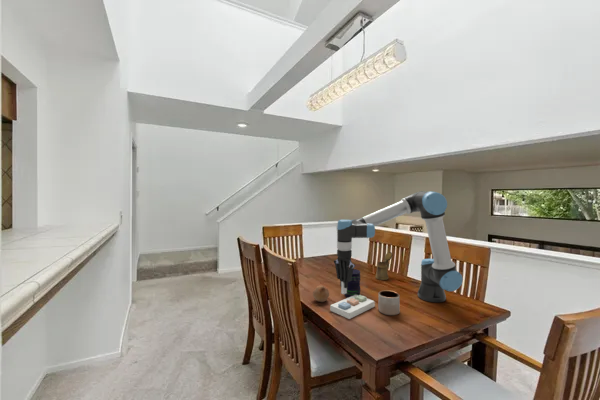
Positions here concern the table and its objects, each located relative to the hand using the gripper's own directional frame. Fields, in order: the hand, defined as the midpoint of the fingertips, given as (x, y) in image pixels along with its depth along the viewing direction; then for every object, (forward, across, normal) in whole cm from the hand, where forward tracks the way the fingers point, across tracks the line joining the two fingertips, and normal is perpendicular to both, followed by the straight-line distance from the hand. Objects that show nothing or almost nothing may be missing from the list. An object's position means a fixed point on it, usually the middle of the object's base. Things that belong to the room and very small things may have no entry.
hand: (343, 293), depth 149 cm
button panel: (+10, 0, -7) cm, 13 cm away
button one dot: (+9, 0, 0) cm, 9 cm away
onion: (+11, +19, -2) cm, 22 cm away
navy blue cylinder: (+11, +12, -22) cm, 27 cm away
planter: (+10, -15, -19) cm, 26 cm away
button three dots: (+9, 0, -7) cm, 12 cm away
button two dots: (+9, 0, -14) cm, 17 cm away
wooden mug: (+10, +17, -65) cm, 68 cm away
